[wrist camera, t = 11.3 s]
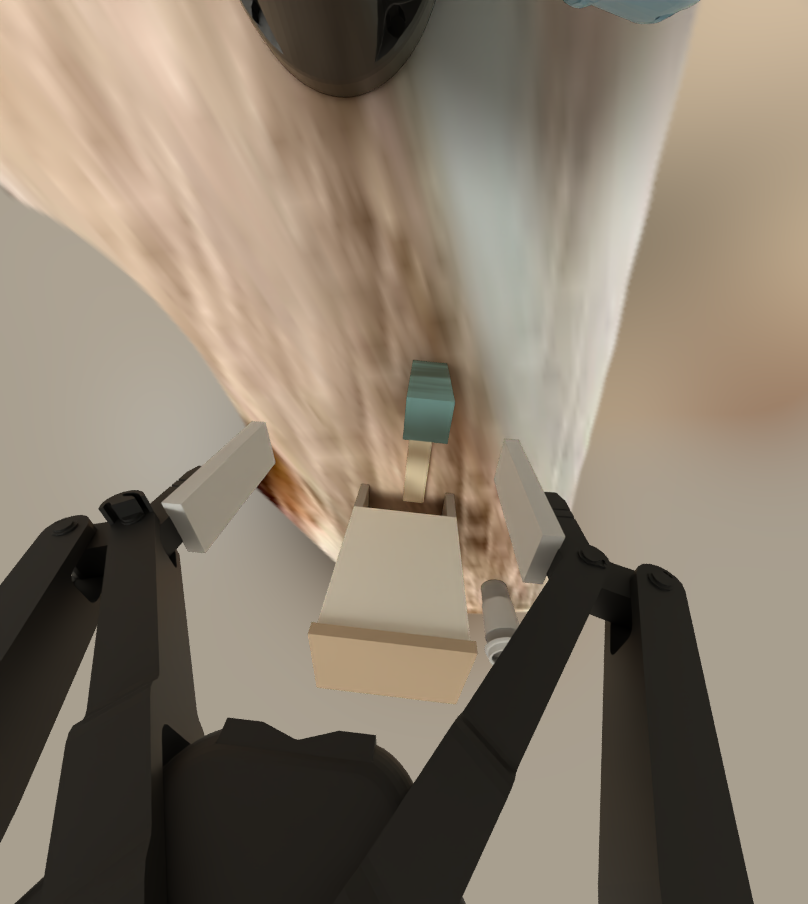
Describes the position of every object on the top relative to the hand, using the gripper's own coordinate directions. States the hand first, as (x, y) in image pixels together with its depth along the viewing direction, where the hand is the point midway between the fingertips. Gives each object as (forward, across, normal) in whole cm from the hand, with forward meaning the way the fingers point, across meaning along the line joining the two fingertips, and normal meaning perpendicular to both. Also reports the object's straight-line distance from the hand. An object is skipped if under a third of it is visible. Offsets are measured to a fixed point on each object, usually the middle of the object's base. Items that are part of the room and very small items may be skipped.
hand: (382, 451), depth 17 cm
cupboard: (+20, 0, -25) cm, 32 cm away
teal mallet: (+21, +2, -11) cm, 24 cm away
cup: (+20, +18, -42) cm, 50 cm away
